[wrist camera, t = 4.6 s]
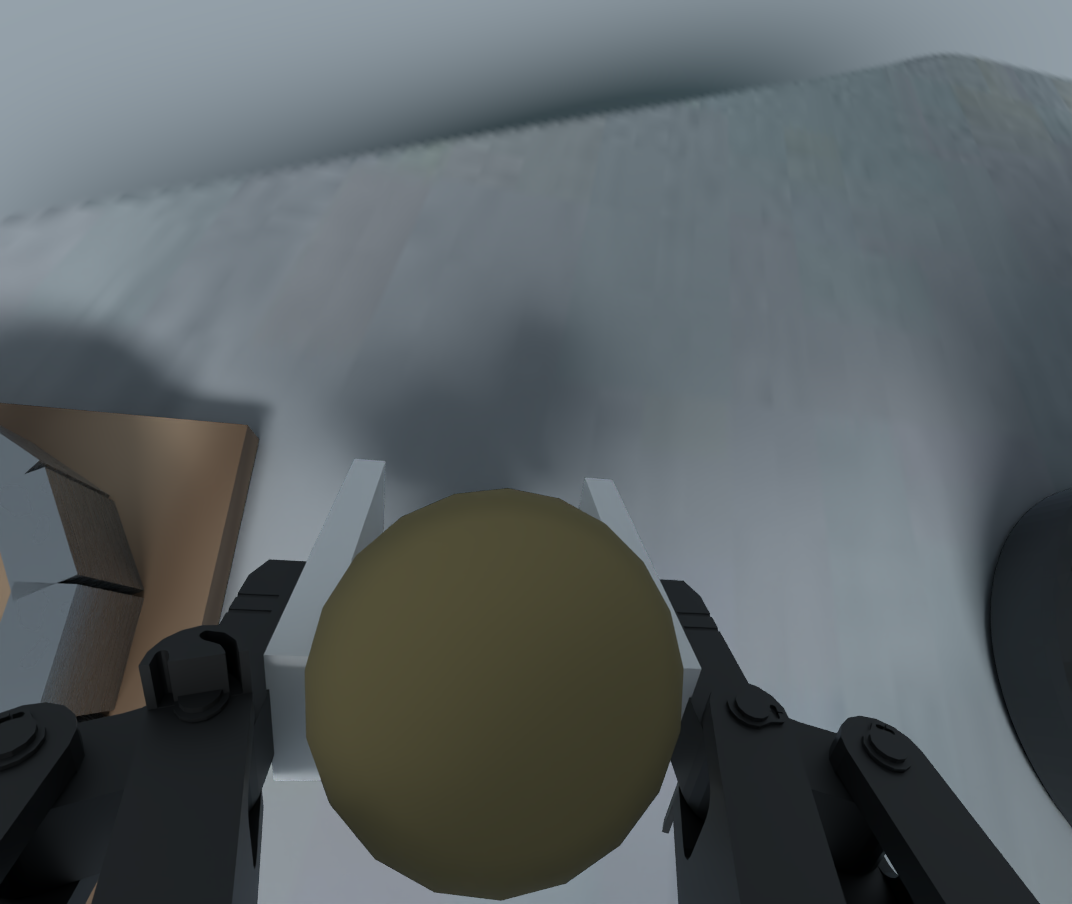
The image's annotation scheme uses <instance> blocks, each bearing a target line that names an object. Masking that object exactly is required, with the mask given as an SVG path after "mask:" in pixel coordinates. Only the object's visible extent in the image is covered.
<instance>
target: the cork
mask: <svg viewBox="0 0 1072 904" xmlns="http://www.w3.org/2000/svg"><path fill="white" fill-rule="evenodd" d="M683 673H684V668H683V664H682V659H681V655H680V651H679V646H678V642H677V637H676V633H675V629H674V624H673V620H672V615H671V611H670V609H669V608H668V606H667V604H666V602H665V600H664V598H663V597H662V595H661V593H660V591H659V589H658V587H657V586H656V584H655V582H654V580H653V578H652V576H651V575H650V573H649V571H648V569H647V567H646V565H645V564H644V562H643V561H642V560H641V559H640V558H639V557H638V556H637V555H636V554H635V553H634V552H633V551H632V550H631V549H630V548H629V547H628V546H627V545H626V544H625V543H624V542H623V541H622V540H621V539H620V538H619V537H618V536H617V535H616V534H615V533H614V532H613V531H612V530H611V529H610V528H609V527H608V526H607V525H606V524H605V523H604V522H602V521H600V520H598V519H596V518H594V517H592V516H591V515H589V514H587V513H585V512H583V511H581V510H580V509H578V508H576V507H574V506H572V505H570V504H568V503H567V502H565V501H563V500H561V499H559V498H554V497H549V496H544V495H539V494H534V493H529V492H524V491H519V490H514V489H509V488H505V489H496V490H487V491H477V492H468V493H459V494H453V495H451V496H449V497H446V498H444V499H442V500H439V501H437V502H435V503H433V504H430V505H428V506H426V507H423V508H421V509H419V510H416V511H414V512H412V513H409V514H407V515H405V516H403V517H401V518H400V519H398V520H397V521H396V522H395V523H394V524H393V525H391V526H390V527H389V528H388V529H387V530H385V531H384V532H383V533H382V534H381V535H380V536H378V537H377V538H376V539H375V540H374V541H373V542H371V543H370V544H369V545H368V546H367V547H365V548H364V549H363V550H362V551H361V552H360V553H358V554H357V555H356V556H355V558H354V560H353V561H352V563H351V564H350V566H349V567H348V569H347V570H346V572H345V574H344V575H343V577H342V578H341V580H340V581H339V583H338V584H337V586H336V587H335V589H334V591H333V592H332V594H331V595H330V597H329V598H328V600H327V601H326V603H325V604H324V606H323V608H322V611H321V615H320V618H319V622H318V625H317V629H316V632H315V636H314V639H313V642H312V646H311V649H310V653H309V656H308V660H307V663H306V667H305V715H306V739H307V742H308V745H309V748H310V750H311V753H312V756H313V759H314V762H315V764H316V767H317V770H318V773H319V776H320V778H321V781H322V784H323V787H324V790H325V793H326V795H327V798H328V801H329V803H330V805H331V806H332V807H333V809H334V810H335V811H336V812H337V813H338V815H339V816H340V817H341V818H342V820H343V821H344V822H345V823H346V824H347V826H348V827H349V828H350V829H351V831H352V832H353V833H354V834H355V835H356V837H357V838H358V839H359V840H360V841H361V843H362V844H363V845H364V846H365V848H366V849H367V850H368V851H369V852H370V854H371V855H372V856H373V857H374V858H375V859H376V860H378V861H379V862H381V863H383V864H385V865H387V866H388V867H390V868H392V869H394V870H395V871H397V872H399V873H401V874H403V875H404V876H406V877H408V878H410V879H412V880H413V881H415V882H417V883H419V884H420V885H422V886H424V887H426V888H428V889H429V890H431V891H433V892H436V893H444V894H452V895H460V896H468V897H477V898H485V899H493V900H505V899H509V898H513V897H516V896H520V895H524V894H528V893H532V892H535V891H539V890H543V889H547V888H551V887H554V886H558V885H562V884H566V883H567V882H569V881H570V880H571V879H573V878H574V877H576V876H577V875H579V874H580V873H581V872H583V871H584V870H586V869H587V868H588V867H590V866H591V865H593V864H594V863H596V862H597V861H598V860H600V859H601V858H603V857H604V856H606V855H607V854H608V853H610V852H611V851H613V850H614V849H616V848H617V847H618V846H620V845H621V843H622V842H623V841H624V839H625V838H626V837H627V835H628V834H629V833H630V831H631V830H632V828H633V827H634V826H635V824H636V823H637V822H638V820H639V819H640V818H641V816H642V815H643V814H644V812H645V811H646V809H647V808H648V807H649V805H650V804H651V803H652V801H653V800H654V799H655V797H656V796H657V794H658V793H659V791H660V789H661V786H662V783H663V780H664V777H665V774H666V771H667V768H668V766H669V763H670V760H671V757H672V754H673V751H674V748H675V745H676V742H677V740H678V737H679V734H680V730H681V711H682V692H683Z"/></svg>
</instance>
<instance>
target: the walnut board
mask: <svg viewBox="0 0 1072 904" xmlns="http://www.w3.org/2000/svg"><path fill="white" fill-rule="evenodd" d="M0 426H2V427H4V428H6V429H8V430H10V431H12V432H13V433H15V434H17V435H19V436H21V437H23V438H25V439H27V440H28V441H30V442H32V443H34V444H35V445H37V446H38V447H40V448H41V449H43V450H44V451H45V452H47V453H48V454H50V455H51V456H53V457H54V458H56V459H57V460H59V461H60V462H62V463H63V464H65V465H66V466H67V467H69V468H70V469H72V470H73V471H75V472H76V473H78V474H79V475H81V476H82V477H84V478H85V479H87V480H88V481H89V482H91V483H92V484H94V485H95V486H97V487H98V488H100V489H101V490H103V491H104V492H106V493H107V494H109V495H110V496H109V497H108V498H109V499H111V500H113V501H115V504H116V507H117V510H118V513H119V516H120V519H121V522H122V525H123V528H124V531H125V534H126V537H127V540H128V543H129V546H130V549H131V552H132V555H133V558H134V561H135V564H136V567H137V570H138V573H139V576H140V579H141V582H142V585H143V588H144V590H143V591H141V592H138V593H136V594H134V595H132V596H137V597H142V598H144V601H143V605H142V609H141V612H140V616H139V620H138V623H137V627H136V631H135V635H134V638H133V642H132V646H131V649H130V653H129V657H128V661H127V664H126V668H125V672H124V675H123V679H122V683H121V687H120V690H119V694H118V698H117V701H116V705H115V709H114V710H111V711H105V712H100V713H101V714H103V715H104V716H106V717H107V716H112V715H116V714H121V713H125V712H128V711H132V710H135V709H138V708H142V707H144V706H146V702H145V697H144V692H143V687H142V682H141V677H140V672H139V667H138V666H139V664H140V662H141V661H142V659H143V658H144V656H145V654H146V653H147V651H149V650H150V649H151V648H152V647H154V646H155V645H156V644H157V643H159V642H160V641H161V640H162V639H164V638H166V637H168V636H170V635H172V634H175V633H177V632H179V631H181V630H184V629H188V628H193V627H197V626H201V625H218V624H219V619H220V615H221V610H222V606H223V601H224V597H225V592H226V588H227V583H228V579H229V574H230V570H231V565H232V560H233V556H234V551H235V547H236V542H237V538H238V533H239V529H240V524H241V520H242V515H243V511H244V506H245V502H246V497H247V492H248V488H249V483H250V479H251V474H252V470H253V465H254V461H255V456H256V452H257V447H258V443H259V439H258V437H257V436H256V435H255V434H254V432H253V431H252V430H251V429H250V427H249V426H248V425H242V424H230V423H219V422H208V421H197V420H186V419H174V418H163V417H152V416H141V415H130V414H118V413H107V412H96V411H85V410H73V409H62V408H51V407H40V406H29V405H17V404H6V403H0ZM10 593H11V590H10V586H9V582H8V579H7V575H6V571H5V568H4V564H3V561H2V557H1V553H0V621H1V619H2V616H3V613H4V610H5V607H6V604H7V602H8V599H9V596H10ZM97 882H98V881H97ZM96 885H97V883H96ZM96 885H95V887H94V889H93V890H92V892H91V894H90V896H89V898H88V900H87V902H86V904H91V903H92V899H93V896H94V892H95V889H96Z"/></svg>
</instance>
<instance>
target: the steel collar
mask: <svg viewBox="0 0 1072 904" xmlns="http://www.w3.org/2000/svg"><path fill="white" fill-rule="evenodd" d="M109 496H110V495H109V494H107V493H106V492H104V491H103V490H101V489H100V488H98V487H97V486H95V485H94V484H92V483H91V482H89V481H88V480H87V479H85V478H84V477H82V476H81V475H79V474H78V473H76V472H75V471H73V470H72V469H70V468H69V467H67V466H66V465H65V464H63V463H62V462H60V461H59V460H57V459H56V458H54V457H53V456H51V455H50V454H48V453H47V452H45V451H44V450H43V449H41V448H40V447H38V446H37V445H35V444H34V443H32V442H30V441H28V440H27V439H25V438H23V437H21V436H19V435H17V434H15V433H13V432H12V431H10V430H8V429H6V428H4V427H2V426H0V553H1V557H2V561H3V564H4V568H5V571H6V575H7V579H8V582H9V586H10V590H11V593H10V596H9V599H8V602H7V604H6V607H5V610H4V613H3V616H2V619H1V621H0V713H1V712H4V711H7V710H10V709H13V708H16V707H19V706H22V705H28V704H36V703H44V702H48V703H54V704H60V705H64V706H66V707H67V708H68V709H69V710H71V711H72V712H73V713H74V714H75V716H76V719H77V723H80V722H85V721H89V720H94V719H98V718H103V717H106V716H104V715H103V714H101V713H100V712H105V711H111V710H114V709H115V705H116V701H117V698H118V694H119V690H120V687H121V683H122V679H123V675H124V672H125V668H126V664H127V661H128V657H129V653H130V649H131V646H132V642H133V638H134V635H135V631H136V627H137V623H138V620H139V616H140V612H141V609H142V605H143V601H144V598H142V597H137V596H132V595H134V594H136V593H138V592H141V591H143V590H144V588H143V585H142V582H141V579H140V576H139V573H138V570H137V567H136V564H135V561H134V558H133V555H132V552H131V549H130V546H129V543H128V540H127V537H126V534H125V531H124V528H123V525H122V522H121V519H120V516H119V513H118V510H117V507H116V504H115V501H113V500H111V499H109V498H108V497H109Z"/></svg>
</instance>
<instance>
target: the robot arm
mask: <svg viewBox="0 0 1072 904" xmlns="http://www.w3.org/2000/svg"><path fill="white" fill-rule="evenodd" d="M384 492H385V461H378V460H366V459H354V461H353V463H352V465H351V467H350V469H349V471H348V474H347V476H346V478H345V480H344V482H343V484H342V487H341V489H340V491H339V493H338V495H337V497H336V500H335V502H334V504H333V506H332V508H331V510H330V513H329V515H328V517H327V519H326V521H325V523H324V525H323V528H322V530H321V532H320V534H319V536H318V538H317V541H316V543H315V545H314V547H313V549H312V551H311V554H310V556H309V558H308V560H307V562H306V561H287V560H268V561H267V562H265V563H264V564H263V565H261V566H260V567H259V568H257V569H256V570H255V571H253V572H252V573H251V574H249V576H248V577H247V579H246V581H245V582H244V584H243V586H242V587H241V589H240V591H239V592H238V596H237V597H235V599H234V601H233V602H232V604H231V606H230V607H229V611H228V613H226V614H225V616H224V617H223V619H222V621H221V622H220V624H219V625H201V626H197V627H193V628H188V629H184V630H181V631H179V632H177V633H175V634H172V635H170V636H168V637H166V638H164V639H162V640H161V641H160V642H159V643H157V644H156V645H155V646H154V647H152V648H151V649H150V650H149V651H147V653H146V654H145V656H144V658H143V659H142V661H141V662H140V664H139V666H138V667H139V672H140V677H141V682H142V687H143V692H144V697H145V702H146V706H144V707H142V708H138V709H135V710H132V711H128V712H125V713H121V714H116V715H112V716H107V717H103V718H98V719H94V720H89V721H85V722H80V723H77V719H76V716H75V714H74V713H73V712H72V711H71V710H69V709H68V708H67V707H66V706H64V705H60V704H54V703H48V702H44V703H36V704H28V705H22V706H19V707H16V708H13V709H10V710H7V711H4V712H1V713H0V904H86V902H87V900H88V898H89V896H90V894H91V892H92V890H93V889H94V887H95V885H96V883H97V885H96V889H95V892H94V896H93V899H92V903H91V904H257V900H258V884H259V869H260V853H261V838H262V822H263V797H262V787H263V784H264V782H265V779H266V776H267V773H268V771H269V768H270V765H271V762H272V767H273V779H274V781H321V778H320V776H319V773H318V770H317V767H316V764H315V762H314V759H313V756H312V753H311V750H310V748H309V745H308V742H307V739H306V715H305V667H306V663H307V660H308V656H309V653H310V649H311V646H312V642H313V639H314V636H315V632H316V629H317V625H318V622H319V618H320V615H321V611H322V608H323V606H324V604H325V603H326V601H327V600H328V598H329V597H330V595H331V594H332V592H333V591H334V589H335V587H336V586H337V584H338V583H339V581H340V580H341V578H342V577H343V575H344V574H345V572H346V570H347V569H348V567H349V566H350V564H351V563H352V561H353V560H354V558H355V556H356V555H357V554H358V553H360V552H361V551H362V550H363V549H364V548H365V547H367V546H368V545H369V544H370V543H371V542H373V541H374V540H375V539H376V538H377V537H378V536H380V535H381V534H382V533H383V524H384ZM579 509H580V510H581V511H583V512H585V513H587V514H589V515H591V516H592V517H594V518H596V519H598V520H600V521H602V522H604V523H605V524H606V525H607V526H608V527H609V528H610V529H611V530H612V531H613V532H614V533H615V534H616V535H617V536H618V537H619V538H620V539H621V540H622V541H623V542H624V543H625V544H626V545H627V546H628V547H629V548H630V549H631V550H632V551H633V552H634V553H635V554H636V555H637V556H638V557H639V558H640V559H641V560H642V561H643V562H644V564H645V565H646V567H647V569H648V571H649V573H650V575H651V576H652V578H653V580H654V582H655V584H656V586H657V587H658V589H659V591H660V593H661V595H662V597H663V598H664V600H665V602H666V604H667V606H668V608H669V609H670V611H671V615H672V620H673V624H674V629H675V633H676V637H677V642H678V646H679V651H680V655H681V659H682V664H683V668H684V673H683V692H682V711H681V730H680V734H679V737H678V740H677V742H676V745H675V748H674V751H673V754H672V757H671V763H672V766H673V769H674V771H675V774H676V777H677V780H678V783H677V786H676V789H675V791H674V794H673V797H672V799H671V802H670V805H669V808H668V810H667V813H666V816H665V819H664V824H663V830H662V832H664V833H669V831H670V828H671V825H672V823H674V839H675V856H676V872H677V888H678V904H1040V903H1039V902H1038V901H1037V899H1036V898H1035V897H1034V896H1033V894H1032V893H1031V892H1030V890H1029V889H1028V888H1027V887H1026V885H1025V884H1024V883H1023V881H1022V880H1021V879H1020V878H1019V876H1018V875H1017V874H1016V872H1015V871H1014V870H1013V868H1012V867H1011V866H1010V865H1009V863H1008V862H1007V861H1006V859H1005V858H1004V857H1003V856H1002V854H1001V853H1000V852H999V850H998V849H997V848H996V847H995V845H994V844H993V843H992V841H991V840H990V839H989V837H988V836H987V835H986V834H985V832H984V831H983V830H982V828H981V827H980V826H979V825H978V823H977V822H976V821H975V819H974V818H973V817H972V816H971V814H970V813H969V812H968V810H967V809H966V808H965V807H964V805H963V804H962V803H961V801H960V800H959V799H958V797H957V796H956V795H955V794H954V792H953V791H952V790H951V788H950V787H949V786H948V785H947V783H946V782H945V781H944V779H943V778H942V777H941V776H940V774H939V773H938V772H937V770H936V769H935V768H934V766H933V765H932V764H931V763H930V761H929V760H928V759H927V757H926V756H925V755H924V754H923V752H922V751H921V750H920V749H919V748H918V747H917V746H916V745H915V744H914V743H913V742H912V741H911V740H910V739H909V738H908V737H907V736H905V735H904V734H902V733H901V732H899V731H898V730H897V729H895V728H894V727H892V726H890V725H888V724H886V723H883V722H881V721H879V720H877V719H873V718H868V717H863V716H857V717H850V718H848V719H847V720H846V721H845V722H844V723H843V724H842V725H841V727H840V729H839V731H838V732H837V733H834V732H830V731H827V730H824V729H820V728H817V727H814V726H810V725H807V724H804V723H800V722H797V721H795V720H792V719H790V718H788V716H787V714H786V712H785V710H784V708H783V707H782V706H781V705H780V704H779V703H778V702H777V701H776V700H775V699H774V698H773V697H772V696H771V695H770V694H768V693H766V692H765V691H763V690H762V689H760V688H759V687H757V686H754V685H751V684H749V683H748V682H747V680H746V678H745V676H744V674H743V673H742V671H741V669H740V667H739V665H738V664H737V662H736V660H735V658H734V656H733V655H732V653H731V651H730V649H729V647H728V645H727V644H726V642H725V640H724V638H723V636H722V635H721V633H720V631H718V627H717V626H716V624H715V622H714V620H713V618H712V617H710V613H709V611H708V609H707V608H706V606H705V604H704V602H703V600H702V598H701V597H700V596H699V595H698V594H697V593H696V592H695V591H694V590H693V589H692V588H691V587H690V586H688V585H687V584H686V583H685V582H684V581H678V580H660V579H659V577H658V575H657V573H656V571H655V569H654V567H653V565H652V563H651V560H650V558H649V556H648V554H647V552H646V550H645V548H644V546H643V543H642V541H641V539H640V537H639V535H638V533H637V531H636V529H635V526H634V524H633V522H632V520H631V518H630V516H629V514H628V512H627V509H626V507H625V505H624V503H623V501H622V499H621V497H620V495H619V493H618V490H617V488H616V486H615V484H614V482H613V480H611V479H599V478H586V477H585V479H584V485H583V490H582V495H581V500H580V505H579ZM991 633H992V644H993V651H994V657H995V663H996V668H997V672H998V677H999V681H1000V685H1001V688H1002V692H1003V696H1004V699H1005V702H1006V705H1007V708H1008V711H1009V714H1010V717H1011V719H1012V722H1013V724H1014V727H1015V729H1016V732H1017V734H1018V737H1019V739H1020V741H1021V743H1022V745H1023V748H1024V750H1025V752H1026V754H1027V756H1028V758H1029V760H1030V762H1031V764H1032V766H1033V768H1034V769H1035V771H1036V773H1037V775H1038V776H1039V778H1040V780H1041V782H1042V783H1043V785H1044V787H1045V788H1046V790H1047V792H1048V793H1049V795H1050V796H1051V798H1052V799H1053V801H1054V802H1055V804H1056V805H1057V807H1058V808H1059V810H1060V811H1061V812H1062V814H1063V815H1064V817H1065V818H1066V819H1067V821H1068V822H1069V823H1070V825H1071V826H1072V489H1068V490H1064V491H1062V492H1059V493H1056V494H1054V495H1052V496H1050V497H1047V498H1046V499H1044V500H1042V501H1041V502H1039V503H1038V504H1036V505H1035V506H1034V507H1033V508H1031V509H1030V510H1029V511H1028V512H1027V513H1026V514H1025V515H1024V516H1023V517H1022V518H1021V519H1020V521H1019V522H1018V523H1017V524H1016V526H1015V527H1014V529H1013V530H1012V532H1011V533H1010V535H1009V537H1008V539H1007V541H1006V542H1005V544H1004V547H1003V549H1002V552H1001V554H1000V557H999V560H998V564H997V567H996V571H995V576H994V581H993V588H992V596H991ZM885 854H886V855H887V857H888V859H889V860H890V862H891V864H892V865H893V867H894V869H895V870H896V872H897V874H896V873H895V872H894V871H893V869H892V868H891V867H890V865H889V864H888V862H887V861H886V859H885V857H884V855H885ZM97 881H98V882H97Z"/></svg>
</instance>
